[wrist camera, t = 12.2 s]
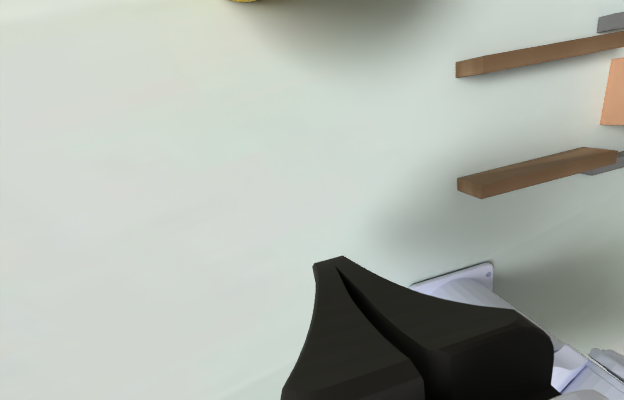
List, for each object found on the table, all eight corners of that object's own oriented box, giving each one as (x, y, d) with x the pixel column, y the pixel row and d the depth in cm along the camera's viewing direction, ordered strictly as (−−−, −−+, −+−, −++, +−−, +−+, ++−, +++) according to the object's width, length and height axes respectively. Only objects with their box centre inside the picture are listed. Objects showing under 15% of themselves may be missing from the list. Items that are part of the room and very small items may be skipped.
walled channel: (581, 158, 25) (615, 163, 23) (457, 190, 23) (481, 199, 21) (596, 37, 22) (637, 28, 20) (455, 62, 20) (483, 56, 18)
